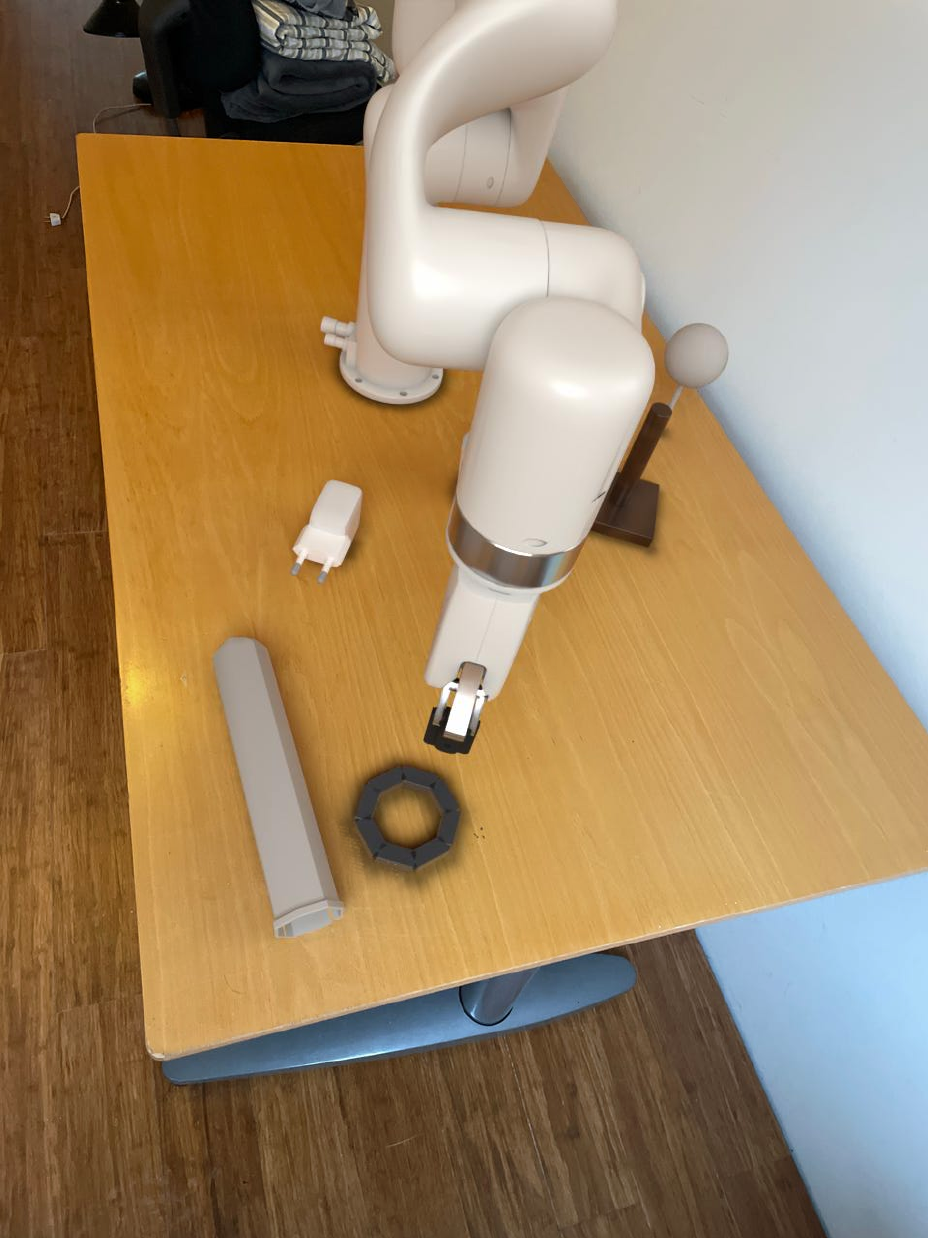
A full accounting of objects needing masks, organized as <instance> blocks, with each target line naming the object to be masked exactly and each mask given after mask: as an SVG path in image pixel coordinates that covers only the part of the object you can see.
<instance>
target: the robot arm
mask: <svg viewBox="0 0 928 1238" xmlns="http://www.w3.org/2000/svg"><path fill="white" fill-rule="evenodd" d="M392 15H393V16H392V27H391V28H392V29H391V53H392V54H391V55H392V61H393V64H394V67H395V71H396V72H397V73H398V76H399V77H398V78H397V79H396V81H395V82H394V83H390V84H387V85H385V86H383V87H381V88H379V89H378V90H377V91H375V92H374V93H373V95H372V96H371V98H369V101H368V103H367V106H366V109H365V111H364V112H365V113H364V117H363V128H362V129H363V131H362V132H363V135H362V137H363V138H362V139H363V155H364V156H363V157H364V175H365V210H364V227H363V239H362V249H361V262H360V273H359V283H358V294H357V307H356V319H355V321H352V320H350V321H349V322H348V323H347V322H345V321H341V320H339V319H336V318H333V317H330V316H326V315H324V316H323V317H322V319H321V323H320V333H324V334H325V335H324V338H323V344H324V345H326V346H329V347H333V348H338V349H341V352H340V355H339V365H338V366H339V371H340V374H341V376H342V378H343V380H344V381H345V382H346V383H347V385H348V386H349V387H351V389H352V390H354V391H355V392H357V393H358V394H360V395H362V396H364V397H365V398H367V399H370V400H373V401H376V402H379V403H384V404H390V405H409V404H415V403H419V402H423V401H425V400H427V399H429V398H430V397H432V396H433V395H435V394H436V392H438V390H439V389H440V387H441V385H442V381H443V376H444V370H453V371H467V372H479V373H480V372H481V373H483V375H482V379H481V382H480V386H479V390H478V391H479V392H478V396H477V399H476V404H475V408H474V412H473V416H472V421H471V424H470V429H469V431H470V433H469V437H468V441H467V445H466V449H465V453H464V457H463V461H462V466H461V470H460V474H459V473H458V474H459V478H458V477H457V482H456V487H455V489H454V490H455V491H454V494H453V498H452V502H451V507H450V510H449V515H448V518H447V522H446V523H447V524H446V527H445V542H446V547H447V550H448V552H449V555H450V556H451V558H452V559H453V563H452V567H451V570H450V574H449V577H448V581H447V584H446V588H445V593H444V596H443V600H442V603H441V606H440V611H439V614H438V619H437V622H436V626H435V630H434V633H433V637H432V640H431V645H430V648H429V652H428V656H427V659H426V663H425V666H424V670H423V679H424V682H425V684H426V685H427V686H430V687H433V688H435V689H438V690H441V693H440V695H439V699H438V703H437V706H432V708H431V712H430V716H429V719H428V723H427V725H426V728H425V732H424V736H423V739H422V741H423V742H424V743H425V744H427V745H430V746H433V747H434V748H435V749H436V750H437V751H438V752H441V753H445V754H448V755H455V754H461V755H468V754H469V753H470V752H471V749H472V746H473V744H474V741H475V739H476V737H477V734H478V732H479V729H480V726H481V722H482V720H480V718H481V715H482V711H483V709H484V705H485V702H486V703H488V702H491V701H493V700H495V699H496V698H497V697H499V694H500V693H501V691H502V689H503V687H504V685H505V682H506V680H507V678H508V676H509V674H510V671H511V669H512V666H513V664H514V662H515V659H516V657H517V655H518V653H519V651H520V648H521V646H522V643H523V640H524V638H525V636H526V633H527V632H528V628H529V626H530V623H531V622H532V619H533V616H534V614H535V611H536V608H537V607H538V603H539V601H540V598H541V596H542V593H546V592H549V591H550V590H554V589H555V588H557V587H558V586H560V585H561V584H563V583H564V582H565V581H566V580H567V579H568V578H569V576H570V575H571V573H572V571H573V569H574V567H575V565H576V563H577V560H578V558H579V556H580V554H581V551H582V549H583V547H584V545H585V543H586V541H587V538H588V537H589V534H590V531H591V530H590V529H591V527H592V525H593V523H594V521H595V518H596V516H597V514H598V512H599V510H600V507H601V505H602V503H603V501H604V499H605V496H606V494H607V492H608V490H609V487H610V485H611V483H612V481H613V479H614V476H615V474H616V472H618V469H619V468H620V466H621V463H622V461H623V458H624V456H625V454H626V453H627V450H628V448H629V445H630V443H631V441H632V439H633V437H634V435H635V432H636V430H637V428H638V425H639V423H640V421H641V419H642V417H643V414H644V413H645V410H646V408H647V406H648V403H649V400H650V398H651V396H652V392H653V389H654V386H655V379H656V364H655V358H654V355H653V352H652V349H651V346H650V345H649V342H648V340H647V339H646V338H645V337H644V335H643V329H642V327H643V326H642V323H643V322H642V320H643V319H642V318H643V313H644V308H645V303H646V292H647V290H646V289H647V288H646V287H647V285H646V278H645V275H644V271H642V269H641V266H640V260H639V258H638V255H637V252H636V249H634V246H632V244H631V242H630V241H628V239H627V238H626V237H624V236H622V235H621V234H618V233H617V232H615V231H612V230H608V229H605V228H602V227H595V226H591V225H582V224H576V223H575V224H574V223H565V222H557V221H548V220H539V219H538V218H537V217H536V218H535V217H529V216H528V217H526V216H519V215H511V214H503V213H496V212H494V213H493V212H488V211H487V212H486V211H479V210H471V209H460V208H450V207H444V206H443V207H441V206H440V204H439V203H446V204H447V203H448V204H452V203H454V204H461V205H467V206H468V205H470V206H476V207H486V208H494V209H495V208H496V209H514V208H518V207H521V206H522V205H524V204H525V203H526V202H527V201H528V199H529V198H530V197H531V196H532V194H533V192H534V190H535V189H536V186H537V183H538V182H539V179H540V176H541V173H542V170H543V167H544V165H545V161H546V159H547V155H548V153H549V150H550V147H551V144H552V141H553V139H554V135H555V132H556V129H557V127H558V124H559V121H560V118H561V115H562V112H563V109H564V106H565V104H566V100H567V98H568V96H569V95H568V94H569V92H570V89H571V85H572V84H573V83H575V82H576V81H579V80H580V79H581V78H582V77H584V76H585V75H587V74H588V73H589V72H590V71H591V70H592V69H593V68H594V67H595V66H597V65H598V63H599V62H600V61H601V60H602V58H603V57H604V56H605V55H606V53H607V51H608V49H609V48H610V46H611V43H612V41H613V39H614V37H615V34H616V29H617V26H618V18H619V17H618V16H619V0H394V6H393V13H392ZM460 671H461V672H460ZM458 674H460V675H459V677H458ZM481 681H482V682H481ZM451 692H455V693H454V697H453V700H452V703H451V706H447V704H448V701H449V698H450V694H451Z"/></svg>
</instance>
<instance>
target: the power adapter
mask: <svg viewBox="0 0 928 1238" xmlns="http://www.w3.org/2000/svg"><path fill="white" fill-rule="evenodd" d="M362 505H363V491H362V489H361V488H360V487H358V486H355V485H353V484H351V483H347V482H343V481H340V480H338V479H337V480H336V479H330V480H327V481H326V483H325V485H324V486H323V487H322V490H321V492H320V493H319V496H318V497H317V500H316V502H315V504H314V506H313V508H312V510H311V512H310V515H309V522H308V523H307V524H305V525H304V526H303V527H302V529H301V531H300V533H299V534H298V537H297V539H296V540H295V543H294V544H293V547H292V551H293V552H294V553H295V554H296V556H297V557H296V560H295V562H294V563H293V564H292V567H291V568H290V571H289V572H290V575H291V576H293V577H297V575H299V572H300V570H301V568H302V566H303V563H304V561H305V560H309V561H312V562H315V563H318V564H322V565H323V566H322V568H321V570H320V572H319V573H318V576H317V577H316V582H317V584H319V585H322V584H324V583H325V581H326V579H327V577H328V574H329V572H330V569H331V568H337V567H339V566H341V565H342V564H343V562H344V560H345V557H346V556H347V553H348V551H349V550H350V547H351V545H352V542H353V540H354V539H355V536H356V533H357V531H358V529H359V526H360V521H361V514H362Z"/></svg>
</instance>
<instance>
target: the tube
mask: <svg viewBox="0 0 928 1238" xmlns="http://www.w3.org/2000/svg"><path fill="white" fill-rule="evenodd" d="M212 665H213V672H214V676H215V680H216V685H217V687H218V693H219V697H220V701H221V704H222V709H223V713H224V718H225V722H226V726H227V730H228V735H229V738H230V743H231V747H232V750H233V755H234V759H235V763H236V768H237V772H238V776H239V781H240V784H241V789H242V793H243V797H244V802H245V806H246V809H247V814H248V817H249V822H250V826H251V830H252V834H253V839H254V841H255V842H254V843H255V846H256V851H257V855H258V860H259V863H260V869H261V872H262V876H263V880H264V884H265V890H266V893H267V897H268V901H269V905H270V910H271V913H272V917H273V921H272V932H273V936H274V938H276V939H294V938H295V939H296V938H299V937H301V936H304V935H307V934H310V933H313V932H316V931H319V930H321V929H323V928H325V927H328V926H329V925H331V924H333V923H335V922H336V921H334V922H332V920H331V918H330V914H329V911H328V909H332V911H331V913H332V914H333V918H334V920H337V921H339V920H341V919H342V918H343V917H344V914H345V909H346V907H345V904H344V901H343V900H340V898H339V895H338V891H337V888H336V885H335V882H334V881H335V880H334V878H333V873H332V870H331V867H330V863H329V861H328V856H327V853H326V849H325V846H324V842H323V839H322V836H321V833H320V829H319V825H318V822H317V818H316V815H315V811H314V808H313V804H312V800H311V797H310V794H309V789H308V786H307V783H306V780H305V776H304V772H303V768H302V766H301V765H302V764H301V762H300V758H299V755H298V752H297V748H296V745H295V741H294V737H293V733H292V731H291V727H290V726H291V725H290V723H289V720H288V716H287V712H286V709H285V706H284V702H283V699H282V696H281V695H282V694H281V692H280V688H279V685H278V681H277V678H276V673H275V670H274V667H273V664H272V660H271V657H270V653H269V650H268V648H267V647H266V646H265V645H264V644H263V643H262V642H261V641H260V640H259V639H257V638H252V637H249V636H243V637H242V636H240V637H239V636H237V637H235V636H233V637H232V636H231V637H230V636H229V637H228V638H227V639H226V640H225V641H224V642H223V643H221V645H220V646H219V647H218V648H217V649H216V651H215V653H214V654H213V656H212ZM283 926H285V930H286V937H285V934H284V932H285V931H284V929H283ZM282 937H284V938H282Z"/></svg>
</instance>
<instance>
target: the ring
mask: <svg viewBox="0 0 928 1238" xmlns="http://www.w3.org/2000/svg"><path fill="white" fill-rule="evenodd" d="M438 778H439V775H438V774H436V773H432V772H429V771H426V770H421V769H419V768H416V767H412V766H409V765H405V764H404V765H403V768H402V767H401V765H397V766H396V767H394V768H391V769H390V770H388V771H386V772H383V773H381V774H379V775H376V776H375V777H373V778H370V779H369V780H368V781H367V784H366V783H365V784H364V786H363V789H362V792H361V796H360V799H359V801H358V804H357V807H356V811H355V813H354V815H353V816H354V817H353V824H354V825H353V829H354V831H355V833H356V835H357V837H358V840H359V841H360V843H361V844H362V846H363V849H364V850H365V852H366V855H368V857H369V859H370V860H371V861H372V860H374V864H377V865H380V866H384V867H386V868H390V869H394V870H397V871H400V872H404V873H407V874H412V872H413V871H414V873H415V874H417V873H419V872H420V871H423V870H424V869H426V868H428V867H430V866H431V865H433V864H435V863H437V862H438V861H440V860H442V859H444V858H446V857H447V856H448V855H449V853H450V852H451V851H452V849H453V847H454V844H455V839H456V835H457V832H458V831H457V830H458V827H459V823H460V819H461V815H462V812H461V811H460V810H461V807H460V805H459V803H458V802H457V799H456V798H455V796H454V795H453V794H452V792H451V790H450V789H449V788H448V786H447V784H446V783H445V781H444V779H443V778H439V779H438ZM400 789H405V790H409V791H413V792H415V793H419V794H422V795H426V796H428V798H429V800H430V801H431V804H433V807H434V808H435V811H437V813H438V815H439V816H440V821H439V824H438V828H437V832H436V837H435V838H433V839H430V840H429V841H427V842H426V843H424V844H421V845H420V846H418V847H416V848H414V849H411V848H408V847H404V846H401V845H397V844H394V843H390V842H387V841H386V840H385V838H384V836H383V834H382V832H381V831H380V829H379V826H378V825H377V824H376V821H375V820H374V817H375V816H374V815H375V812H376V810H377V806H378V802H379V800H380V799H382V798H384V797H386V796H388V795H390V794H392V793H394V792H396V791H399V790H400ZM388 862H389V863H388ZM395 864H396V865H395Z"/></svg>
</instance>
